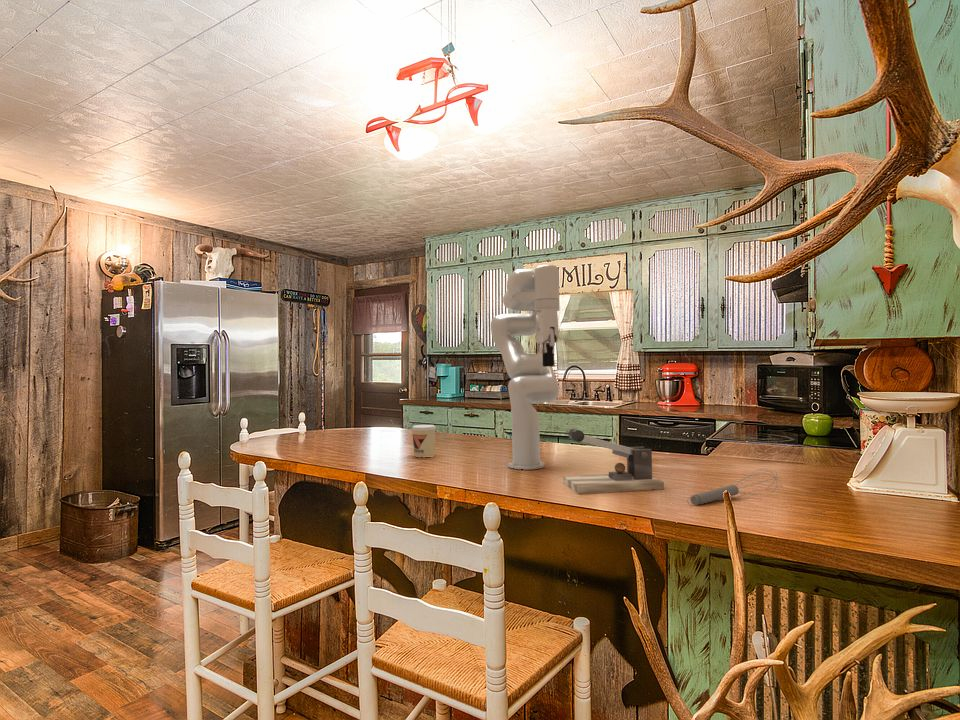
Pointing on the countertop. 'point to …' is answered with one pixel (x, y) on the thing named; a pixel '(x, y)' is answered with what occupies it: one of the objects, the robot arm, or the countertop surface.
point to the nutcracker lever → (600, 443)
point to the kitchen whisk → (718, 493)
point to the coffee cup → (424, 440)
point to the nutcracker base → (608, 484)
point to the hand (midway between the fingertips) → (548, 366)
